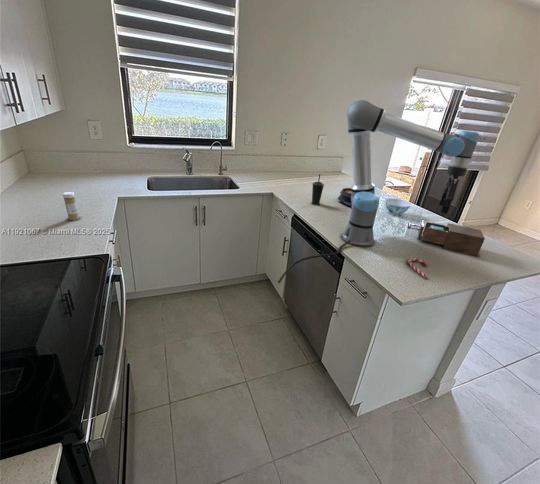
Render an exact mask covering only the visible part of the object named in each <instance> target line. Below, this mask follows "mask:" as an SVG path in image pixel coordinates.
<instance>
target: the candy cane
mask: <svg viewBox="0 0 540 484" xmlns="http://www.w3.org/2000/svg"><path fill="white" fill-rule="evenodd" d="M413 262H417V263H418V262H419V263H421V264H422V265H423V267H426V266H427V263H426V262H425V261H424V260H423V259H421V258H416V257H412V258H409V259H408V260H407V264H408V265H409V267H410V268H411V269H413V271H415V272H416V273H417V274H419V275H420V276H421V277H423V278H424V279H427V278H428V275H427V274H425V273H424V272H423V271H421V270H420V269H419V268H418V267H416V266H415V265H414V264H413Z"/></svg>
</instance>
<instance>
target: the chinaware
mask: <svg viewBox="0 0 540 484" xmlns="http://www.w3.org/2000/svg"><path fill="white" fill-rule="evenodd" d="M384 205H385V208H386V209H387V211H388V213H389V214H390V215H392V216H395V217H396V216H401V215H402V214H405V213H406V212H407V211H408V210H409V209H410V207H411V203H410V202H409V201H406V200H403V199H399V198H386V199H385V200H384Z"/></svg>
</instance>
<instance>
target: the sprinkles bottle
mask: <svg viewBox="0 0 540 484" xmlns="http://www.w3.org/2000/svg"><path fill="white" fill-rule="evenodd" d="M62 198H63V201H64V205H65V206H64V207H65V210H66V213H67V218H68V220H69V221H77V220H79V219H80V216H79V210H78V207H77V203H76V199H75V193H74V191H65V192H62Z"/></svg>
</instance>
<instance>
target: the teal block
mask: <svg viewBox="0 0 540 484" xmlns="http://www.w3.org/2000/svg"><path fill="white" fill-rule="evenodd" d="M430 228H435V229H439V230H444V229H443V227H438V226H433V225H430Z"/></svg>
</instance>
